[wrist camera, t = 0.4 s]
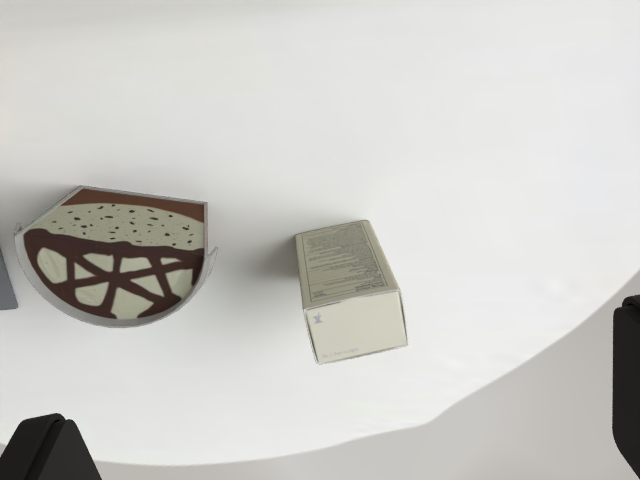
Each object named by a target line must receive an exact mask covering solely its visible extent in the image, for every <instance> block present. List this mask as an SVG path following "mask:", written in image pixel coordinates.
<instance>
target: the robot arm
mask: <svg viewBox="0 0 640 480" xmlns="http://www.w3.org/2000/svg"><path fill="white" fill-rule="evenodd" d="M612 418H613V420H612V421H613V424H612V425H613V426H612V429H613V436H614V440H615V443H616V445H617V447H618V449H619V451H620V452H621V454H622V455H623V457H624V458H625V459H626V461H627V462H628V464H629V465H630V466H631V468H632V469H633V471H634V472H635V473H636V475H637V476H638V477H639V479H640V295H635V296H630V297H627V298H625V299H624V301H623V303H622V307H619V308H617V309H615V311H614V315H613V417H612ZM0 480H102V479H101V477H100V475H99V473H98V470H97V468H96V466H95V464H94V462H93V459H92V457H91V455H90V453H89V451H88V449H87V447H86V444H85V442H84V440H83V438H82V436H81V434H80V432H79V429H78V427H77V425H76V424H75V422H74V421H73V420H70V419H68V420H65V418H64V417H63V416H62V415H61V414H58V413H54V414H50V415H45V416H40V417H35V418H30V419H26V420H23V421H22V422H21V423H20V424H19V425H18V427H17V429H16V431H15V432H14V434H13V436H12V438H11V439H10V441H9V443H8V445H7V446H6V448H5V450H4V452H3V454H2V455H1V457H0Z"/></svg>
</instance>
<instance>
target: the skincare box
mask: <svg viewBox="0 0 640 480" xmlns="http://www.w3.org/2000/svg"><path fill="white" fill-rule="evenodd" d="M295 241H296V250H297V259H298V269H299V278H300V287H301V296H302V305H303V312H304V317H305V322H306V326H307V331H308V335H309V339H310V343H311V347H312V350H313V354H314V357H315V361H316V363H317V364H318V365H322V364H327V363H333V362H338V361H343V360H348V359H353V358H357V357H362V356H366V355H371V354H375V353H380V352H384V351H388V350H393V349H398V348H402V347H406V346H408V337H407V329H406V321H405V313H404V306H403V300H402V294H401V290H400V288H399V286H398V284H397V282H396V280H395V277H394V275H393V273H392V271H391V268H390V266H389V264H388V261H387V259H386V257H385V255H384V252H383V250H382V248H381V246H380V244H379V241H378V239H377V237H376V234H375V232H374V230H373V228H372V226H371V223H370V221H368V220H365V221H359V222H354V223H349V224H344V225H339V226H334V227H329V228H324V229H319V230H314V231H310V232H306V233H301V234H297V235H296V236H295Z"/></svg>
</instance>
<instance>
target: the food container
mask: <svg viewBox="0 0 640 480" xmlns="http://www.w3.org/2000/svg"><path fill="white" fill-rule="evenodd" d="M14 242H15V249H16V253H17V256H18V259H19V263H20V265H21V267H22V269H23V271H24V273H25V275H26V277H27V278H28V280H29V281H30V282H31V284H32V285H33V287H34V288H35V289H36V290H37V291H38V292H39V293H40V294H41V295H42V297H43V298H44V299H46V300H47V301H48V302H49V303H51V304H52V305H53V306H54V307H56V308H57V309H59V310H61V311H62V312H64V313H65V314H67V315H69V316H71V317H73V318H76V319H78V320H80V321H83V322H86V323H90V324H93V325H97V326H103V327H109V328H129V327H138V326H142V325H147V324H151V323H153V322H156V321H158V320H161V319H163V318H165V317H167V316H169V315H171V314H173V313H174V312H176V311H178V310H179V309H180V308H182V307H183V306H184V305H185V304H187V303H188V302H189V301H190V300H191V299H192V297H193V296H194V295H195V294H196V293H197V292H198V290H199V289H200V288H201V286H202V285H203V284H204V282H205V281H206V279H207V277H208V276H209V274H210V272H211V270H212V267H213V264H214V262H215V259H216V254H217V249H218V248H217V247H215V248H214V250H213V251H212V252H211V254H210V255H207V202H201V201H194V200H186V199H179V198H171V197H164V196H156V195H149V194H141V193H134V192H126V191H119V190H111V189H104V188H96V187H89V186H80V187H78V188H77V189H76V190H74V191H73V192H72V193H70V194H69V195H68V196H66V197H65V198H64V199H62V200H61V201H60V202H58V203H57V204H56V205H54V206H53V207H52V208H50V209H49V210H48V211H46V212H45V213H44V214H42V215H41V216H40V217H38V218H37V219H36V220H34V221H33V222H32V223H30V224H29V225H28V226H26V227H25V228H23V229H21V223H18V224H17V226H16V228H15V230H14Z"/></svg>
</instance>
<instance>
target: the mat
mask: <svg viewBox="0 0 640 480" xmlns="http://www.w3.org/2000/svg"><path fill="white" fill-rule="evenodd" d="M17 307H18V304H17V301H16V298H15V295H14V291H13V288H12V285H11V282H10V279H9V276H8V272H7V269H6V266H5V263H4V260H3V257H2V253H1V250H0V310H9V309H16V308H17Z"/></svg>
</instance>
